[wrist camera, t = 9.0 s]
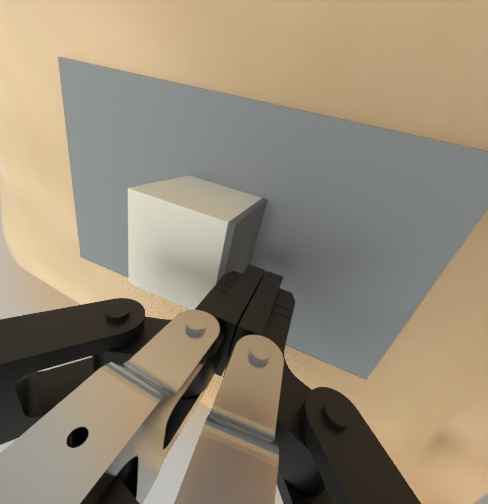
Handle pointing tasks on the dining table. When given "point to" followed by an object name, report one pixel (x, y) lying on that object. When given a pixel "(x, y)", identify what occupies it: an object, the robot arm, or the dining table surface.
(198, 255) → the cube
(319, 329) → the mat
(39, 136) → the dining table surface
